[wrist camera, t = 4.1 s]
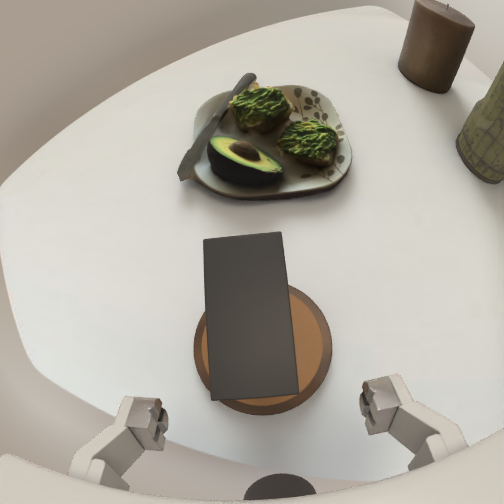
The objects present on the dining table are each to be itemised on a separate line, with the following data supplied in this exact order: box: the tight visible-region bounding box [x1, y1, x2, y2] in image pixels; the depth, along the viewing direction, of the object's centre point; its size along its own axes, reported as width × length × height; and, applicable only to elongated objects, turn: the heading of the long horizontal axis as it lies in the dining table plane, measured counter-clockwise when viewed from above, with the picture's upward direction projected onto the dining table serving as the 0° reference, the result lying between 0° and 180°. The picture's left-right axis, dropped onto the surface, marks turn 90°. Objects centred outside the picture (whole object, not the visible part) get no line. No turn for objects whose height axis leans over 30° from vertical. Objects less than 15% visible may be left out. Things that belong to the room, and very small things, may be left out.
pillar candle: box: [398, 0, 475, 93], centre depth 29 cm, size 10×10×15 cm
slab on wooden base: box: [202, 232, 323, 406], centre depth 15 cm, size 9×9×15 cm
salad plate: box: [177, 73, 352, 200], centre depth 30 cm, size 19×18×5 cm
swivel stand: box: [194, 285, 332, 415], centre depth 23 cm, size 11×11×1 cm
